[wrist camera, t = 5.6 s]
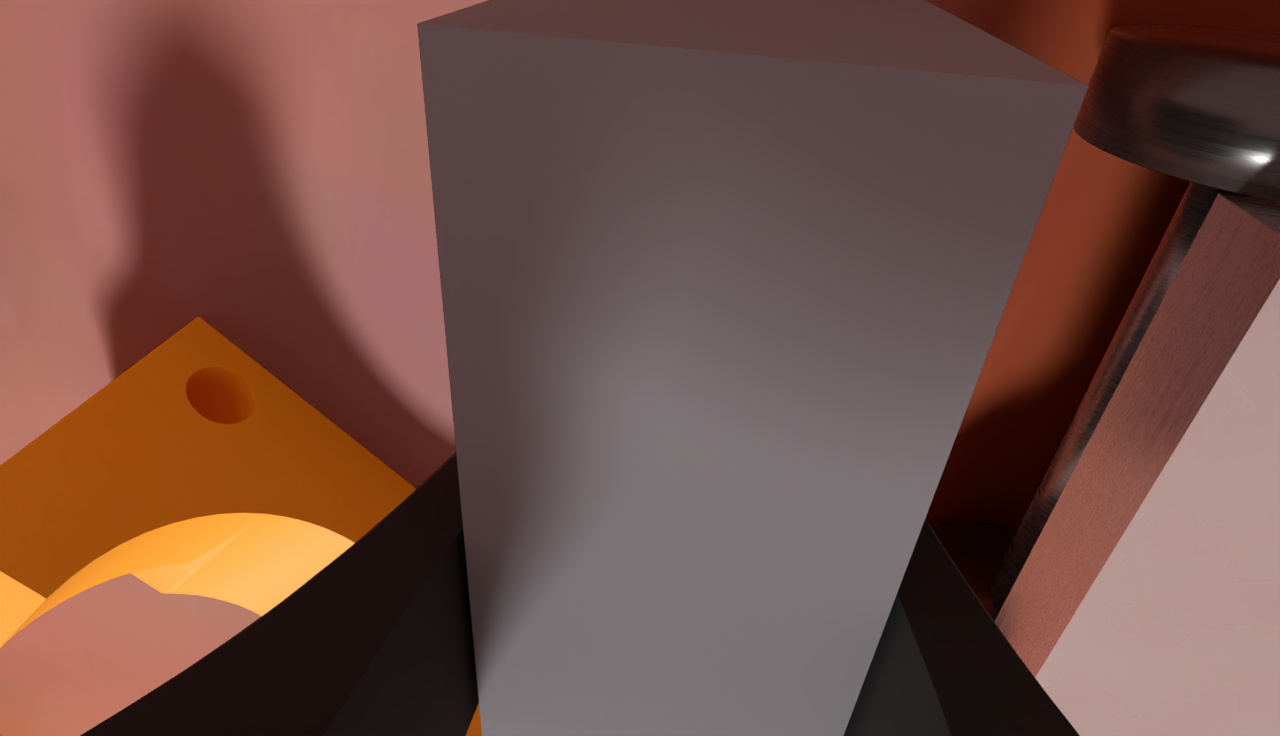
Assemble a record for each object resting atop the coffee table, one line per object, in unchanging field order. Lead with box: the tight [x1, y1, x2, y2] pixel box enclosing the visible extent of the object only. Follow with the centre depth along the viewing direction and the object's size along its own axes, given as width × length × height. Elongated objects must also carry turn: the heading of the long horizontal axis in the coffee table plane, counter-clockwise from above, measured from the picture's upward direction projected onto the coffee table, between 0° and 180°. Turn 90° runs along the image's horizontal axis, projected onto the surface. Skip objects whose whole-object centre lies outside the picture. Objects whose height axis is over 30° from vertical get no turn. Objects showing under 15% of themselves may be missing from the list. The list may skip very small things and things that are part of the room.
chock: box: [417, 0, 1088, 736], centre depth 9 cm, size 4×11×5 cm, turn 177°
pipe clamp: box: [0, 316, 482, 736], centre depth 16 cm, size 12×4×6 cm, turn 43°
